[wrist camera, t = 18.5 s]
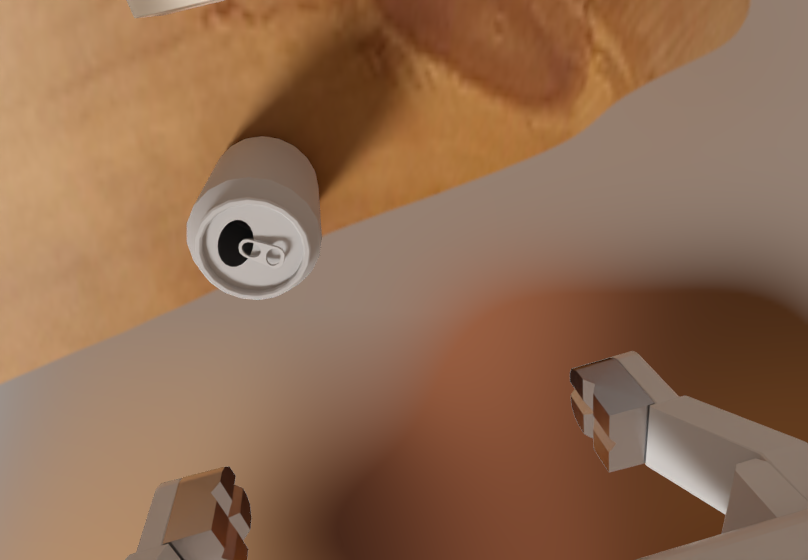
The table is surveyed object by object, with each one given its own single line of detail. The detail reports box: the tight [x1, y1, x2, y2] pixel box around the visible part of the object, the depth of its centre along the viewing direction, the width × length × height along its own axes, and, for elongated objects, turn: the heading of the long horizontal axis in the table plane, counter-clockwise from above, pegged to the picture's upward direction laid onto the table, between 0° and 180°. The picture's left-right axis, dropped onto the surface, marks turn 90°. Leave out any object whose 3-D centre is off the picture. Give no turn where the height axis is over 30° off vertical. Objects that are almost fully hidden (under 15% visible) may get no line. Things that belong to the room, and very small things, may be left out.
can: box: [187, 136, 322, 300], centre depth 32 cm, size 8×8×12 cm
